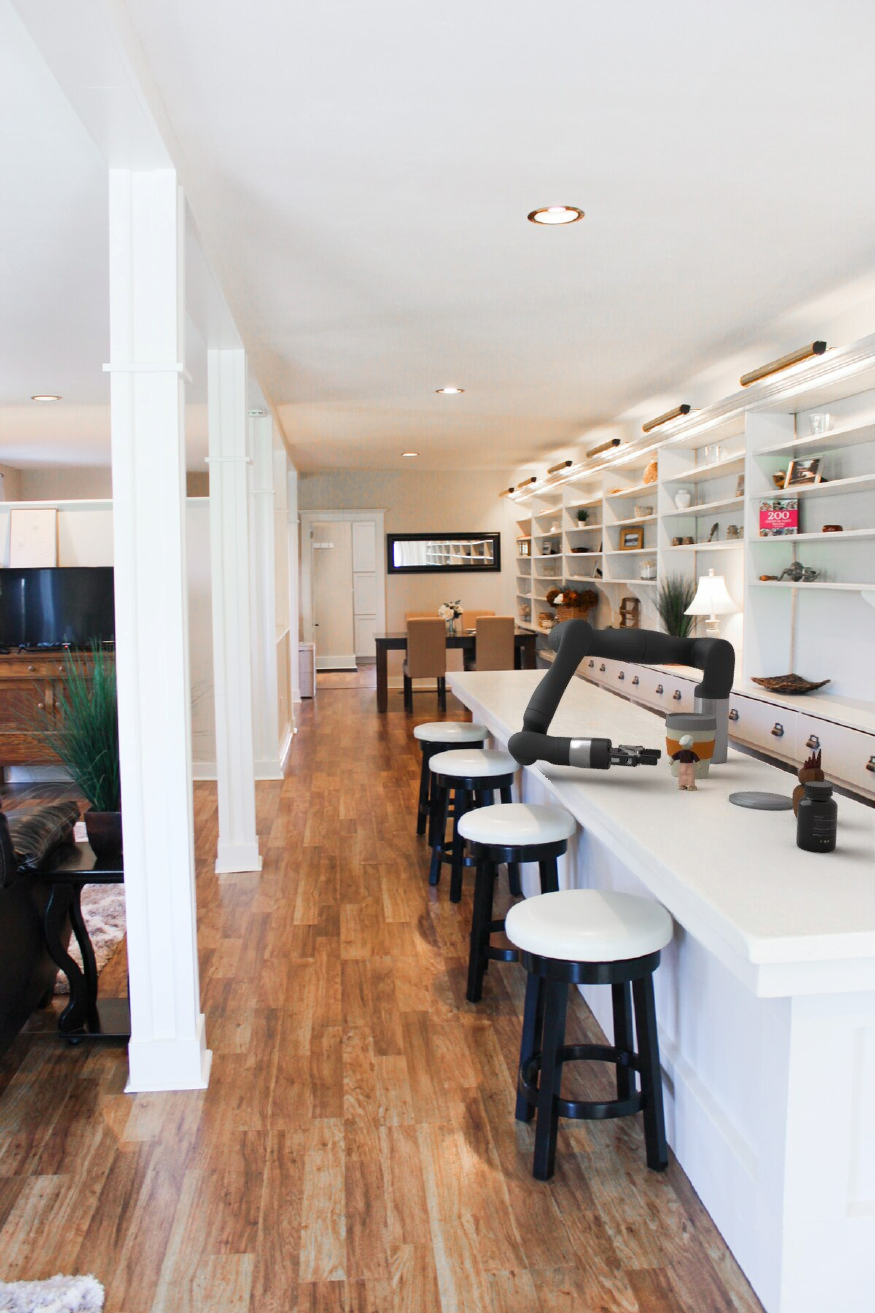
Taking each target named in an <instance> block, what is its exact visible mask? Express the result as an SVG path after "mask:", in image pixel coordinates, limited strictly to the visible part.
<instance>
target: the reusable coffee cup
mask: <svg viewBox="0 0 875 1313" xmlns="http://www.w3.org/2000/svg"><path fill="white" fill-rule="evenodd" d="M665 716H666V718H665V724H664V726H665V727H666V736H665V743H666V753H667V754H666V755H668V756H669V762H670V761H671V758H672V757H671V756H672V755H673V754H674V753H676V752H677V751H680V750H684V749H683V748H682V746H681V745H680V744H679V742H680V740H681V738H682V737H683V736H686V735H690V736H692V737H693V740H694V741H693V746H692V748H691V749H690V751H693V752H695V753H696V754H697V756H698V757H699V759H700V761H701V765H702V767H703V768H702V769H699V768H698V765H697V764H696V762H695V761H694V760H693V763H694V770H695V780H702V778H703V779H707V778H708V777H709V769H710V765H711V763H710V759H711V758H712V757H713V752H714V746H715V739H714V735H715V729H717V722H716V716H713V715H709V714H702V713H694V712H671V713H667V714H666V715H665ZM679 762H680V760H675V762H674V764H673V765H670V764H669V768H670V775H671V776H672V777H675V778H678V768H679ZM706 777H707V778H706Z"/></svg>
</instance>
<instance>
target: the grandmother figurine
mask: <svg viewBox="0 0 875 1313" xmlns="http://www.w3.org/2000/svg"><path fill="white" fill-rule="evenodd" d="M693 741H694V740H693V737H692V736H690V735H686V736H683V737H682V738H681V740H680V742H679V744H680V745H681V746H682V748H683V749H684V750H680V751H677V752H676V753H674V754H673V755H672V756H671V757H672V758H671V761H670V760H669V761H668V764H669V766H670V765H673V764H674V762H675V760H680V762H679V768H678V777H677V780H678V787H677V789H678V790H686V789H687V790H688V791H697V790H698V786H696V779H695V770H694V763H693V760H694V761H695V762H696V764H697V765H698V768H699V769H702V768H703V767H702V765H701V761H700V759H699V757H698V756H697V754H696V753H695V752H693V751H690V749H691V748H692V746H693Z"/></svg>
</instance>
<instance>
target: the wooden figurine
mask: <svg viewBox="0 0 875 1313" xmlns="http://www.w3.org/2000/svg"><path fill="white" fill-rule="evenodd" d="M816 755H817V756H816ZM797 780H798V783H800V784H797V785H796V786H795V787H794V788H793V791H792V797H791V798H792V802H793V808H792V809H793V810H792V811H793V814H794V816H795V818H796V819H797V811H798V801H799V799H800V798H801V797H803V796H805V794H804V786H805V783H806V782H824V783H825V773H824V771H823V769H822V748H819V749H818V752H817V754H816V752H815V750H813V751H812V754H811V756H810V755H809V756H808V758H807V759H804V763H803V767H801V768H800V769H799V770H798V774H797Z"/></svg>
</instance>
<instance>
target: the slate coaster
mask: <svg viewBox="0 0 875 1313" xmlns="http://www.w3.org/2000/svg"><path fill="white" fill-rule="evenodd" d="M728 801H729V803H731V804H733V805H736V806H739V807H743V808H747V809H753V810H762V811H785V810H791V809H793V802H792V797H790V796H787V795H784V794H781V793H773V792H765V791H764V792H763V791H737V792H733V793H730V794H729V795H728Z"/></svg>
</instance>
